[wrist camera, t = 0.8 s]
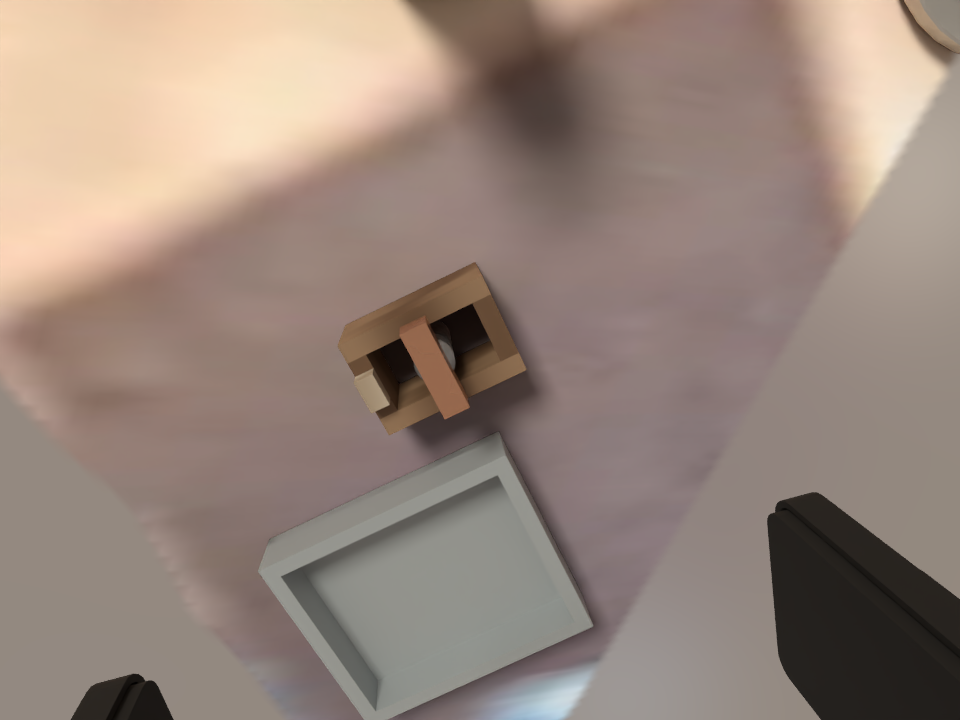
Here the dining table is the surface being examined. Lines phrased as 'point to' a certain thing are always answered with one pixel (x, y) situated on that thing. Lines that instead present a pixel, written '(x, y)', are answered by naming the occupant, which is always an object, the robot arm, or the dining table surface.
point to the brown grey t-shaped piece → (435, 363)
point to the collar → (435, 302)
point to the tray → (427, 581)
